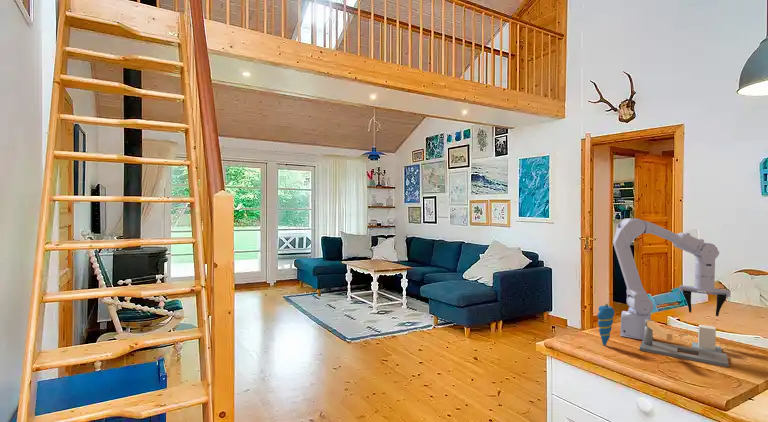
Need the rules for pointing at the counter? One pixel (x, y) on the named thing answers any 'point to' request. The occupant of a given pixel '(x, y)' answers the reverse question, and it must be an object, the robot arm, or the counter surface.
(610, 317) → the ornament
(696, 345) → the rest pad
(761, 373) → the counter surface
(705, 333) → the plug
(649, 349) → the socket block
